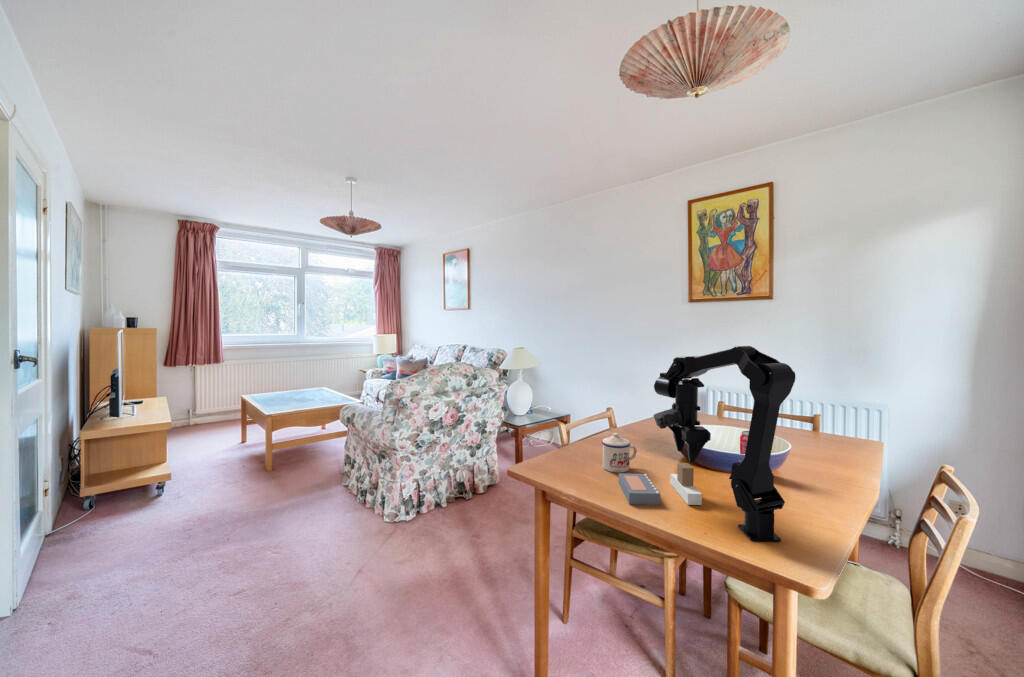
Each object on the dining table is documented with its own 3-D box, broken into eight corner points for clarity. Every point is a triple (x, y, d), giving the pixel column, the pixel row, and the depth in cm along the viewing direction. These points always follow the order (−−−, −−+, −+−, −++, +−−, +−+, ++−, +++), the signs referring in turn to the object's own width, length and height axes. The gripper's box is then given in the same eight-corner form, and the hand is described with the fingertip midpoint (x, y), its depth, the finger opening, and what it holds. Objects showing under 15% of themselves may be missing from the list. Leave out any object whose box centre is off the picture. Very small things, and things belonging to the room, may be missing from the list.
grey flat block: (659, 504, 108) (659, 493, 108) (629, 504, 108) (629, 492, 108) (645, 483, 122) (645, 473, 122) (618, 483, 122) (618, 473, 122)
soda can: (769, 478, 126) (770, 436, 125) (743, 476, 127) (744, 435, 126) (760, 470, 132) (761, 430, 132) (736, 468, 134) (736, 429, 133)
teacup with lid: (609, 474, 129) (609, 438, 129) (597, 464, 138) (597, 430, 138) (643, 471, 132) (643, 435, 132) (629, 461, 141) (629, 428, 140)
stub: (701, 505, 107) (702, 475, 107) (687, 504, 108) (688, 474, 107) (682, 483, 121) (683, 457, 121) (670, 483, 122) (670, 457, 121)
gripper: (647, 394, 123) (647, 445, 124) (667, 408, 105) (666, 468, 105) (685, 395, 122) (684, 446, 123) (712, 408, 104) (710, 469, 105)
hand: (685, 456), depth 114 cm, fingers open, 9 cm apart
